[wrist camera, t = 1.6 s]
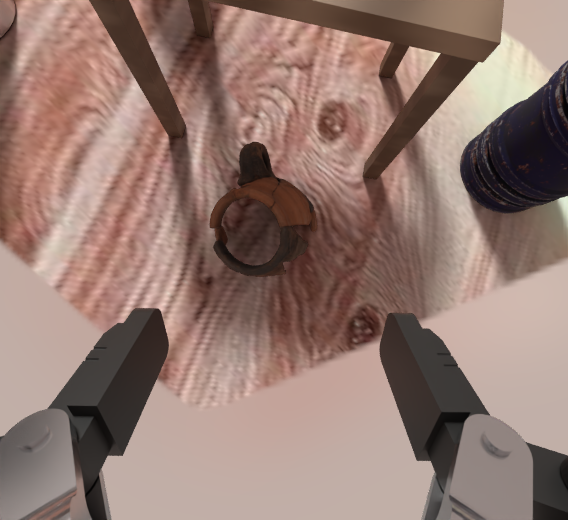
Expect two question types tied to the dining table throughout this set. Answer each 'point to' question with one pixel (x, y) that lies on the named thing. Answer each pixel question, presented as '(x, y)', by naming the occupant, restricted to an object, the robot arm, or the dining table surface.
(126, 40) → the wooden side table
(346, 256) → the dining table surface
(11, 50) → the dining table surface
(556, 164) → the dark blue cylinder
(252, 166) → the pottery mug
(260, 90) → the dining table surface
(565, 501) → the robot arm
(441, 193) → the dining table surface
